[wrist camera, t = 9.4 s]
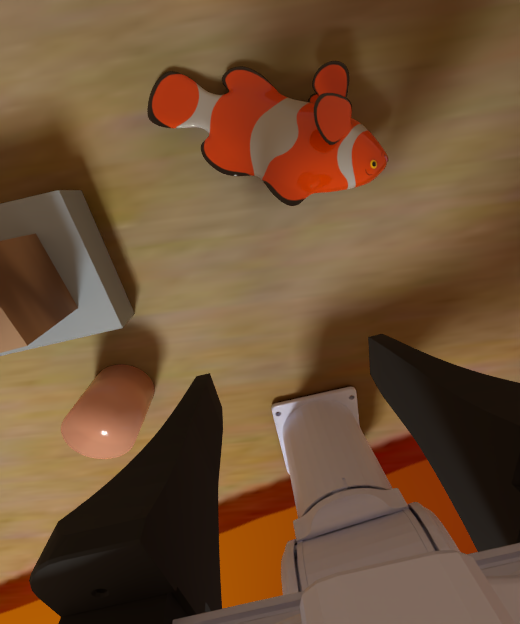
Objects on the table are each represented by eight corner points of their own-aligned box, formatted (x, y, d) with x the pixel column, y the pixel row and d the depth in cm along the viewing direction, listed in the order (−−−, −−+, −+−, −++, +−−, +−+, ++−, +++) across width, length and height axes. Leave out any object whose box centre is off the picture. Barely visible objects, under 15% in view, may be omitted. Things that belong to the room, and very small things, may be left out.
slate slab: (136, 311, 22) (122, 327, 20) (26, 336, 22) (-3, 356, 20) (84, 190, 19) (58, 190, 16) (-46, 220, 19) (-94, 225, 16)
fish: (432, 126, 14) (318, 260, 16) (385, 142, 19) (300, 246, 21) (221, -136, 10) (109, 86, 12) (225, -39, 15) (142, 113, 17)
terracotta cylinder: (162, 404, 25) (146, 450, 21) (109, 416, 26) (81, 465, 21) (141, 358, 23) (119, 398, 19) (84, 371, 24) (47, 415, 19)
